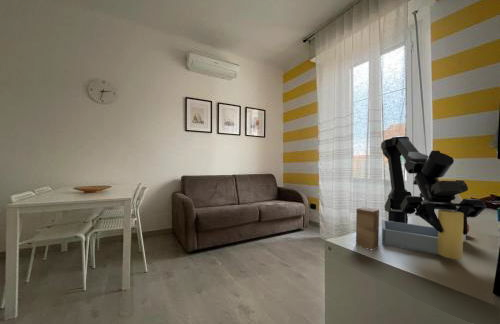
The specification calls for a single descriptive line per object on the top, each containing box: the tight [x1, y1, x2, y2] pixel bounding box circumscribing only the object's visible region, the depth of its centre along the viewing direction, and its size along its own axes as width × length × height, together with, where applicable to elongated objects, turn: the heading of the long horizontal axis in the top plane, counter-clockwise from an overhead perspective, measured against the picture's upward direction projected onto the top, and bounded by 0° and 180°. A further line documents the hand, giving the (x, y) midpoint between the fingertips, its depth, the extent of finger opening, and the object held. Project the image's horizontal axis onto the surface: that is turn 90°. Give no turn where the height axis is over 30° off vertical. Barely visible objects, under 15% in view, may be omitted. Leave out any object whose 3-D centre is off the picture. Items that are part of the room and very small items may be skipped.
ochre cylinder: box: [437, 209, 464, 261], centre depth 57 cm, size 5×5×12 cm
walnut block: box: [355, 206, 380, 251], centre depth 68 cm, size 5×5×12 cm
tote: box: [381, 219, 441, 256], centre depth 70 cm, size 18×14×5 cm
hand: (453, 233), depth 56 cm, fingers closed on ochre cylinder, 5 cm apart
